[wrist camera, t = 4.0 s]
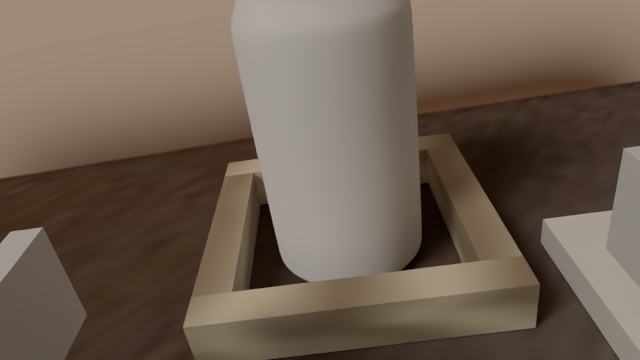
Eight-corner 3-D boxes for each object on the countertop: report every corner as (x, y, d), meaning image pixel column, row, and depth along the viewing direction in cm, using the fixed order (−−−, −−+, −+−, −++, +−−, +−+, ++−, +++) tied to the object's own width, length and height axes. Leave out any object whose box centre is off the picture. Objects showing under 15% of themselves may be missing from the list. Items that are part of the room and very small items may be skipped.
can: (347, 193, 27) (316, -50, 21) (451, 235, 23) (449, -56, 17) (252, 254, 23) (182, -17, 17) (354, 319, 19) (307, -13, 13)
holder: (449, 165, 28) (448, 133, 27) (535, 327, 18) (540, 284, 17) (236, 194, 28) (228, 163, 27) (197, 367, 18) (182, 328, 17)
